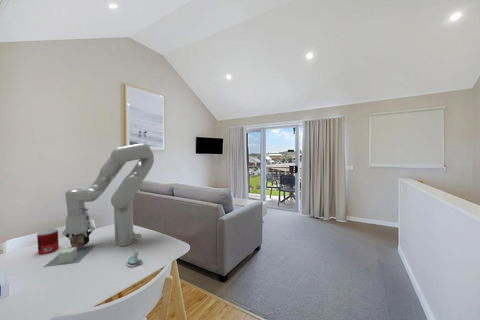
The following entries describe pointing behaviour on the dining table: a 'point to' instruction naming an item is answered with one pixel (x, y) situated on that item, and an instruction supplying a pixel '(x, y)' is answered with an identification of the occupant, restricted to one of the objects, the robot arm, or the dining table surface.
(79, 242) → the walnut block
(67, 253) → the sage block
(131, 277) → the dining table surface
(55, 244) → the canned food
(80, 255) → the mat
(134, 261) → the pacifier
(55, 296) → the dining table surface
